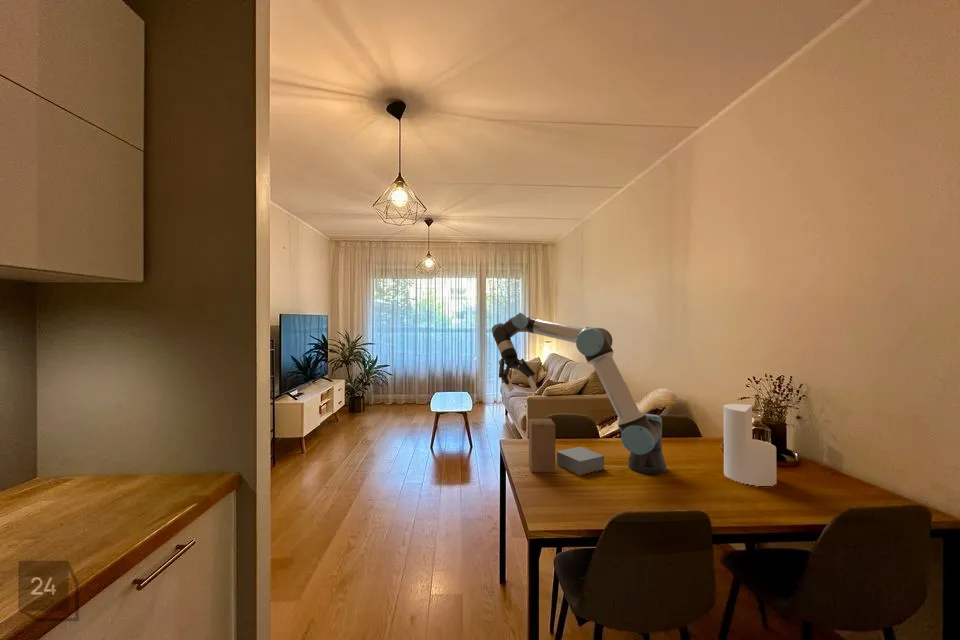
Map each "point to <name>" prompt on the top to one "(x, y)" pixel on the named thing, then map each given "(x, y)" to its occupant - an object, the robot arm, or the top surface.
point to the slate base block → (580, 460)
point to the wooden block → (542, 445)
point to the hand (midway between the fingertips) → (523, 389)
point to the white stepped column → (746, 449)
